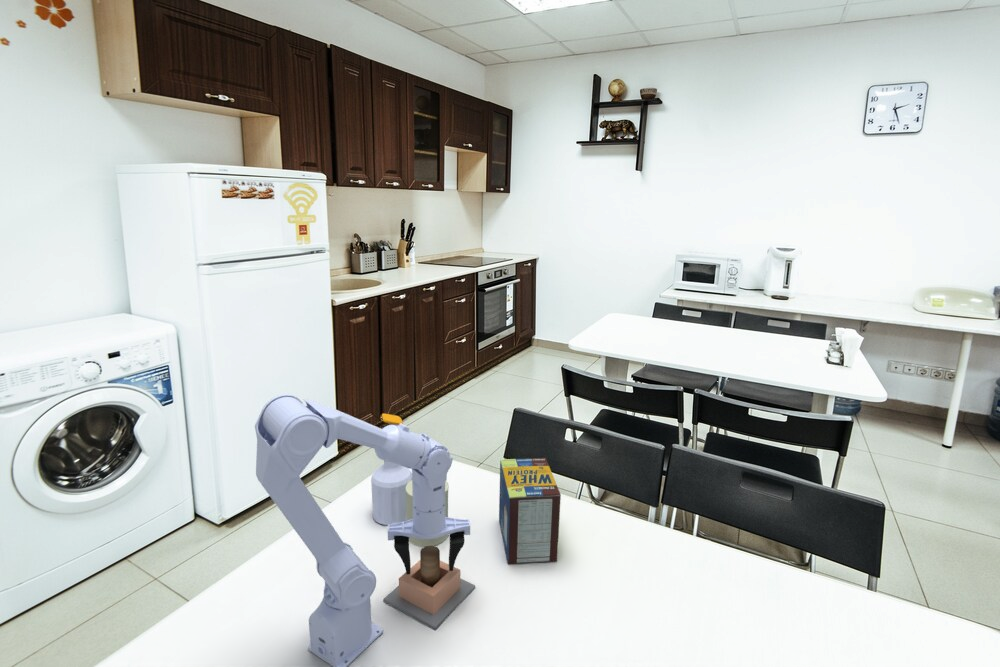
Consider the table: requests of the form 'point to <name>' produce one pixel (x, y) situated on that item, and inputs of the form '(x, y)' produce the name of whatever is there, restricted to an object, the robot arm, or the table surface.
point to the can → (410, 516)
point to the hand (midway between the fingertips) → (429, 568)
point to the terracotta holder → (429, 595)
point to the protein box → (529, 511)
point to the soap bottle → (390, 487)
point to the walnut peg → (430, 565)
